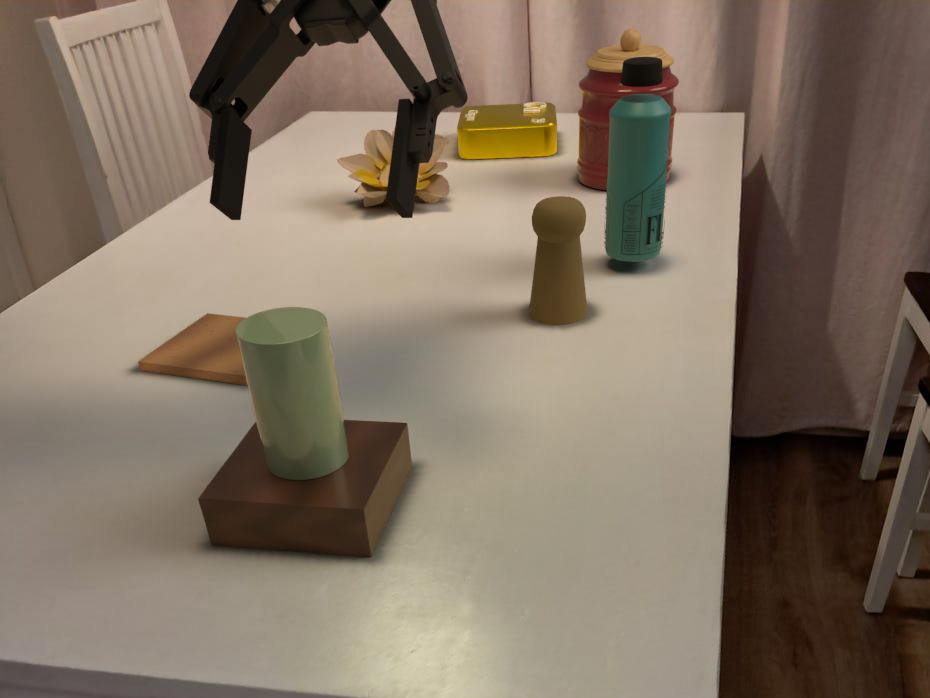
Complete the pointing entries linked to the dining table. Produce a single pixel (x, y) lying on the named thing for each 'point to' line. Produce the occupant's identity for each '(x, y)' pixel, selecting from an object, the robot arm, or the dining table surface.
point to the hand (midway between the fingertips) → (309, 210)
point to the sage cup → (294, 391)
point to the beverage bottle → (637, 165)
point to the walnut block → (310, 496)
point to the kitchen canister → (604, 93)
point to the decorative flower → (377, 166)
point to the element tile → (507, 131)
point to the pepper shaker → (558, 262)
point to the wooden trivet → (201, 352)
